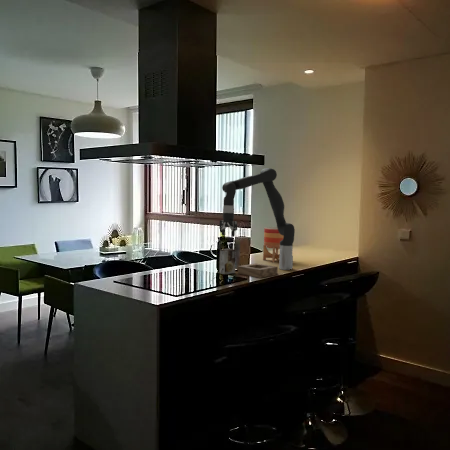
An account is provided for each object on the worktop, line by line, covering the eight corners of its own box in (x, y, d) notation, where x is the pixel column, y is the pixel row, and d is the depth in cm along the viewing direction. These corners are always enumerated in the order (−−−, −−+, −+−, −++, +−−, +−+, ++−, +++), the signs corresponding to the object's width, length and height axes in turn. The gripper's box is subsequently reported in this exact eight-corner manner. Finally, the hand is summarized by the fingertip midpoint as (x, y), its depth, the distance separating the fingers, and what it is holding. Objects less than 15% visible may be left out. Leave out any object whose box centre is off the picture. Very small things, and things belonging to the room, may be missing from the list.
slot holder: (255, 270, 312) (255, 263, 312) (277, 274, 299) (277, 266, 299) (237, 273, 298) (237, 266, 298) (260, 277, 285) (260, 269, 285)
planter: (285, 263, 348) (286, 229, 346) (260, 261, 353) (261, 228, 352) (289, 259, 367) (290, 227, 365) (265, 258, 373) (266, 226, 371)
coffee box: (229, 271, 305) (230, 248, 304) (235, 273, 300) (235, 249, 299) (218, 272, 300) (219, 249, 299) (224, 274, 295) (224, 250, 294)
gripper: (240, 212, 295) (239, 236, 296) (224, 211, 305) (224, 235, 306) (232, 212, 290) (232, 237, 291) (217, 211, 299) (216, 235, 300)
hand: (228, 236), depth 298 cm, fingers open, 8 cm apart
